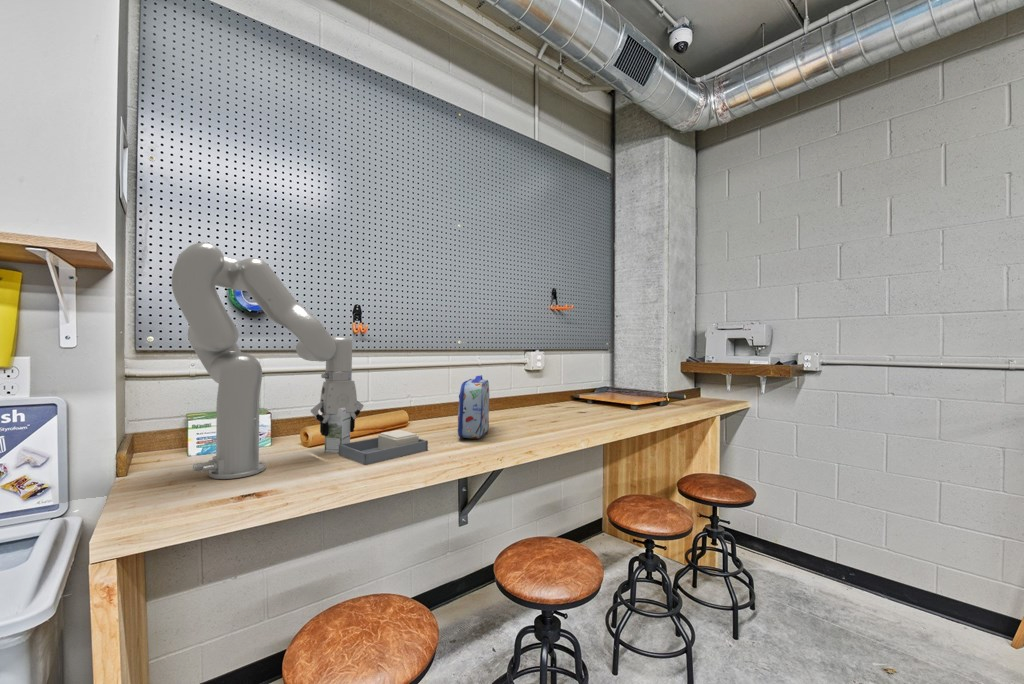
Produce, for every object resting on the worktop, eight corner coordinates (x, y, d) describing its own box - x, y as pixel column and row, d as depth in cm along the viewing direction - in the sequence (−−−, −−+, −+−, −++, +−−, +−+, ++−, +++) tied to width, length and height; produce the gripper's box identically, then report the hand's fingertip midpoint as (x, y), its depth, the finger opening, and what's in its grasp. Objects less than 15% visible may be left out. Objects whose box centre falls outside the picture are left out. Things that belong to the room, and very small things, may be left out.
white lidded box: (396, 454, 126) (396, 438, 126) (378, 449, 133) (378, 433, 133) (418, 449, 132) (418, 433, 132) (399, 444, 139) (400, 429, 139)
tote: (365, 468, 116) (365, 453, 116) (338, 458, 126) (338, 444, 126) (427, 453, 132) (427, 440, 132) (399, 445, 142) (399, 433, 142)
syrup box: (350, 451, 134) (351, 405, 134) (341, 455, 128) (342, 408, 128) (333, 450, 134) (334, 404, 135) (323, 455, 129) (324, 407, 129)
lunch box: (465, 426, 174) (465, 373, 174) (490, 427, 174) (490, 373, 174) (454, 442, 147) (455, 379, 147) (484, 443, 147) (485, 379, 147)
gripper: (316, 379, 122) (315, 439, 122) (370, 376, 135) (369, 431, 135) (304, 377, 127) (303, 435, 127) (358, 374, 140) (357, 427, 140)
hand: (337, 433), depth 131 cm, fingers closed on syrup box, 7 cm apart
